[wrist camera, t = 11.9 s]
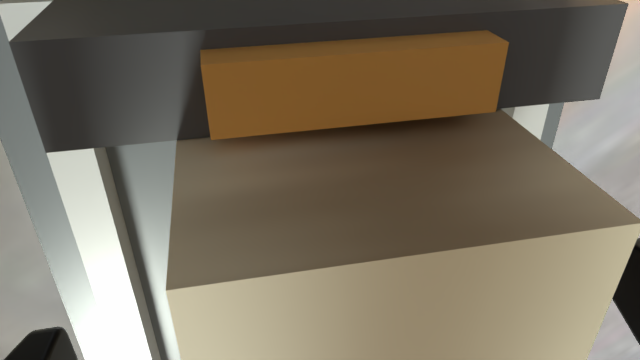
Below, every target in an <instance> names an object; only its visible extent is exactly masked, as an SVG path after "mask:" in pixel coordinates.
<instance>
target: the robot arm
mask: <svg viewBox="0 0 640 360" xmlns="http://www.w3.org/2000/svg"><path fill="white" fill-rule="evenodd" d="M612 299H613V301H614V302H615V304H616V306H617V308H618V309H619V311H620V313H621V314H622V316H623V318H624V319H625V321H626V323H627V324H628V326H629V328H630V329H631V331H632V333H633V335H634V336H635V338H636V340H637V341H638V343H639V345H640V238H637V241H636V243H635V245H634V248H633V250H632V253H631V255H630V257H629V260H628V262H627V264H626V267H625V269H624V272H623V274H622V276H621V279H620V281H619V284H618V286H617V288H616V291H615V293H614V296H613V298H612ZM4 360H78V359H77V356H76V354H75V351H74V349H73V346H72V344H71V341H70V339H69V336H68V334H67V332H66V330H65V329H64V328H62V327H53V328H46V329H40V330H35V331H32V332H31V333H29V334H28V335H27V336H26V337H25V338H24V339H23V340H22V341H21V342H20V343H19V344H18V345H17V346H16V347H15V348H14V349H13V351H12V352H11V353H10V354H9V355H8V356H7V357H6V358H5V359H4Z"/></svg>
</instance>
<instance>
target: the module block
mask: <svg viewBox="0 0 640 360" xmlns="http://www.w3.org/2000/svg"><path fill="white" fill-rule="evenodd" d="M639 233H640V219H639V218H637V217H636V216H635V215H634V214H632V213H631V212H630V211H629V210H627V209H626V208H625V207H624V206H622V205H621V204H620V203H619V202H617V201H616V200H615V199H614V198H612V197H611V196H610V195H609V194H607V193H606V192H605V191H603V190H602V189H601V188H600V187H598V186H597V185H596V184H595V183H593V182H592V181H591V180H590V179H588V178H587V177H586V176H585V175H583V174H582V173H581V172H580V171H578V170H577V169H576V168H575V167H573V166H572V165H571V164H570V163H568V162H567V161H566V160H564V159H563V158H562V157H561V156H559V155H558V154H557V153H556V152H554V151H553V150H552V149H551V148H549V147H548V146H547V145H546V144H544V143H543V142H542V141H541V140H539V139H538V138H537V137H536V136H534V135H533V134H532V133H530V132H529V131H528V130H527V129H525V128H524V127H523V126H522V125H520V124H519V123H518V122H517V121H515V120H514V119H513V118H512V117H510V116H509V115H508V114H507V113H505V112H504V111H503V110H502V109H496V112H491V113H481V114H471V115H460V116H450V117H440V118H430V119H420V120H410V121H400V122H389V123H379V124H369V125H359V126H349V127H339V128H329V129H319V130H308V131H298V132H288V133H278V134H268V135H258V136H248V137H238V138H227V139H217V140H211V137H205V138H195V139H184V140H177V142H176V155H175V169H174V183H173V196H172V210H171V224H170V237H169V251H168V264H167V278H166V295H167V299H168V304H169V308H170V313H171V317H172V322H173V326H174V331H175V335H176V340H177V344H178V349H179V353H180V358H181V360H587V358H588V355H589V353H590V351H591V348H592V346H593V343H594V341H595V339H596V336H597V334H598V331H599V329H600V327H601V324H602V322H603V319H604V317H605V315H606V312H607V310H608V307H609V305H610V303H611V300H612V298H613V296H614V293H615V291H616V288H617V286H618V284H619V281H620V279H621V276H622V274H623V272H624V269H625V267H626V264H627V262H628V260H629V257H630V255H631V253H632V250H633V248H634V245H635V243H636V241H637V238H638V236H639Z"/></svg>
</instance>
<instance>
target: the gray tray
mask: <svg viewBox="0 0 640 360" xmlns="http://www.w3.org/2000/svg"><path fill="white" fill-rule="evenodd" d="M627 7H628V3H625V2H622V1H619V0H0V139H1V142H2V144H3V147H4V150H5V152H6V155H7V157H8V160H9V163H10V165H11V168H12V171H13V173H14V176H15V178H16V181H17V184H18V186H19V189H20V191H21V194H22V197H23V199H24V202H25V204H26V207H27V210H28V212H29V215H30V217H31V220H32V223H33V225H34V228H35V231H36V233H37V236H38V238H39V241H40V244H41V246H42V249H43V251H44V254H45V257H46V259H47V262H48V264H49V267H50V270H51V272H52V275H53V277H54V280H55V283H56V285H57V288H58V291H59V293H60V296H61V298H62V301H63V304H64V306H65V309H66V311H67V314H68V317H69V319H70V322H71V324H72V327H73V330H74V332H75V335H76V337H77V340H78V343H79V345H80V348H81V351H82V353H83V356H84V358H85V360H181V358H180V353H179V349H178V344H177V340H176V335H175V331H174V326H173V322H172V317H171V313H170V308H169V304H168V299H167V295H166V278H167V264H168V251H169V237H170V224H171V210H172V196H173V183H174V169H175V155H176V142H177V140H184V139H195V138H205V137H211V140H217V139H227V138H238V137H248V136H258V135H268V134H278V133H288V132H298V131H308V130H319V129H329V128H339V127H349V126H359V125H369V124H379V123H389V122H400V121H410V120H420V119H430V118H440V117H450V116H460V115H471V114H481V113H491V112H496V109H502V110H503V111H504V112H505V113H507V114H508V115H509V116H510V117H512V118H513V119H514V120H515V121H517V122H518V123H519V124H520V125H522V126H523V127H524V128H525V129H527V130H528V131H529V132H530V133H532V134H533V135H534V136H536V137H537V138H538V139H539V140H541V141H542V142H543V143H544V144H546V145H547V146H548V147H549V148H551V149H552V146H553V142H554V139H555V135H556V131H557V127H558V124H559V120H560V116H561V112H562V109H563V105H564V102H573V101H584V100H594V99H599V98H600V95H601V92H602V89H603V85H604V82H605V79H606V75H607V72H608V69H609V66H610V62H611V59H612V56H613V53H614V49H615V46H616V43H617V39H618V36H619V33H620V30H621V26H622V23H623V20H624V17H625V13H626V10H627Z"/></svg>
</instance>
